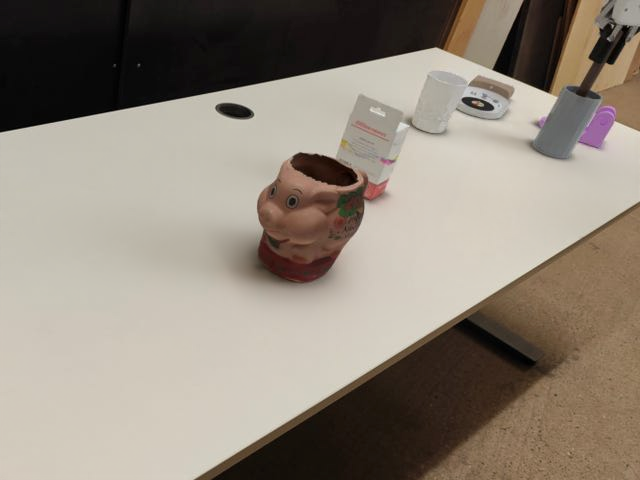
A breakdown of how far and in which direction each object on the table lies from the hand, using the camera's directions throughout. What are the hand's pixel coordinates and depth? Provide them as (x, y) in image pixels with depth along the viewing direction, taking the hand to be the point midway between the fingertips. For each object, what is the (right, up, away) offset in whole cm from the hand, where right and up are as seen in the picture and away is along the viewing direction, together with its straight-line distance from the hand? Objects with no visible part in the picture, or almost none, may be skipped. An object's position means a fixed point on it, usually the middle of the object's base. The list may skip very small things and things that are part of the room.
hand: (600, 61), depth 126 cm
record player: (-10, +2, +27) cm, 29 cm away
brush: (-2, -8, +7) cm, 11 cm away
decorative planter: (-64, -43, -33) cm, 83 cm away
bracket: (+7, -7, +21) cm, 23 cm away
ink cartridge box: (-50, -27, -13) cm, 59 cm away
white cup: (-28, -8, +12) cm, 32 cm away
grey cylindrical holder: (-2, -13, +12) cm, 18 cm away
